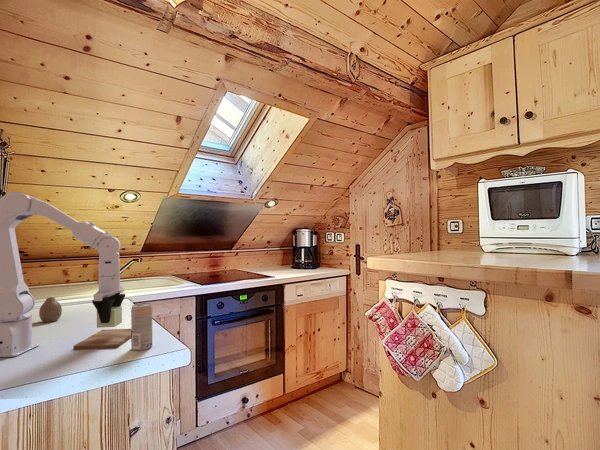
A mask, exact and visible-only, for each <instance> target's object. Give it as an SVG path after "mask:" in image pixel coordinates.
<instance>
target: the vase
mask: <svg viewBox="0 0 600 450" xmlns="http://www.w3.org/2000/svg"><path fill="white" fill-rule="evenodd" d="M62 311H63V309H62V305H61V303H60V302H59V301H58V300H57V299H56V297H51V296H50V297H46V299H45V301H44V302H43V303H42V304H41V305H40V307H39V311H38V314H39V315H38V316H39V319H40V321H42V322H43V323H53V322H57V321H58V320H59V319H60V318H61V316H62V313H63V312H62Z"/></svg>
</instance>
